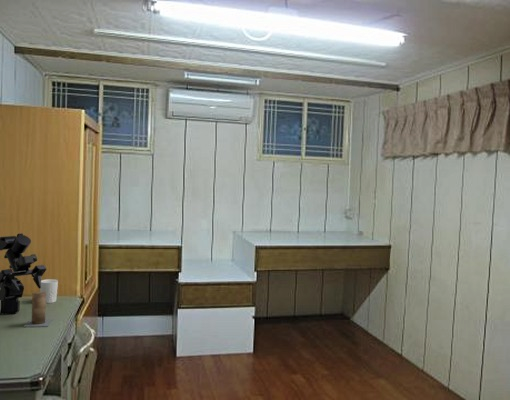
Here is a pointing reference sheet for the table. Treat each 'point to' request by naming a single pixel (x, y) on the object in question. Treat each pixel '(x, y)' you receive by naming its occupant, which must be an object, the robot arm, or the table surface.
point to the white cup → (49, 289)
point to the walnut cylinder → (38, 307)
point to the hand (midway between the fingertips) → (29, 289)
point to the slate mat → (46, 324)
